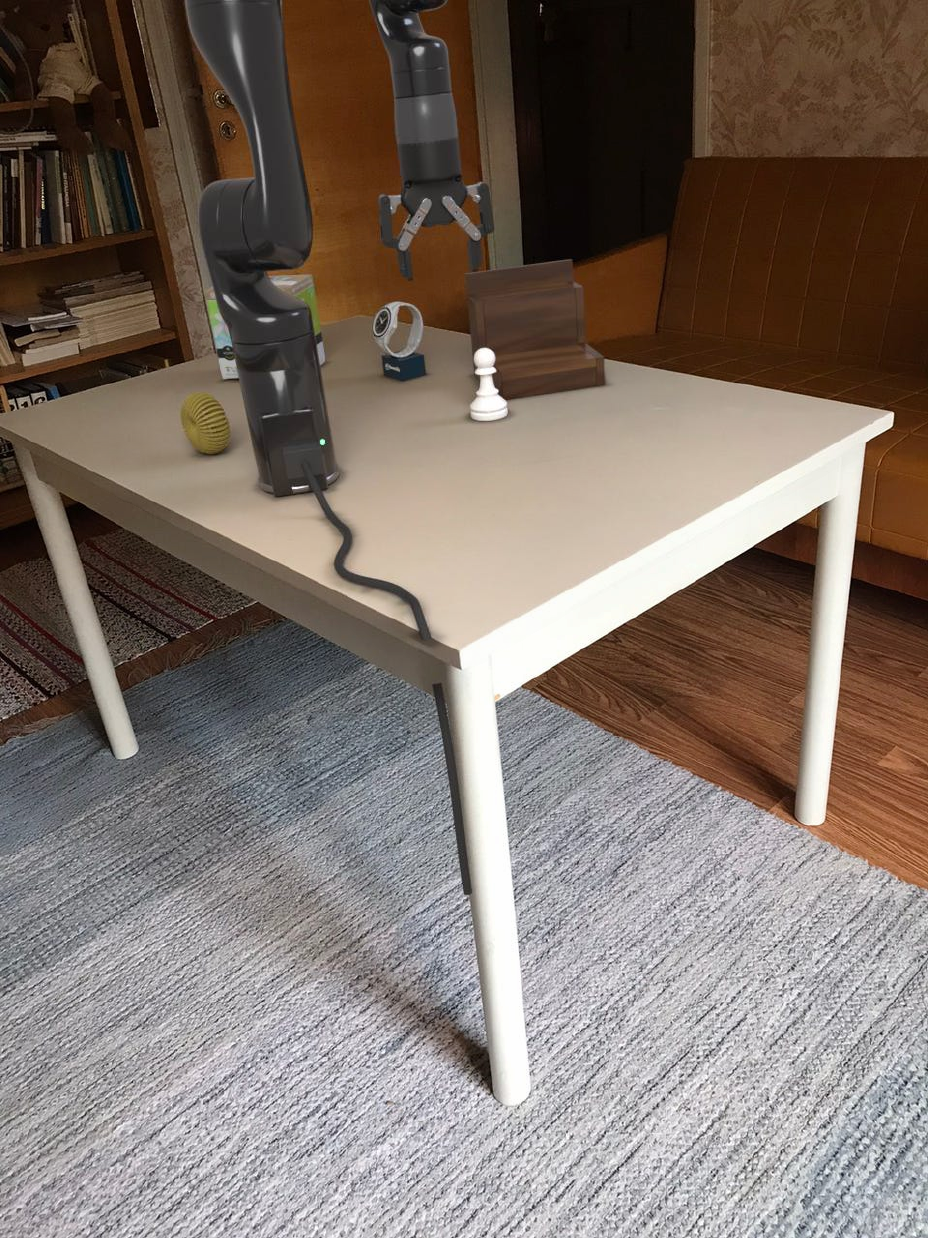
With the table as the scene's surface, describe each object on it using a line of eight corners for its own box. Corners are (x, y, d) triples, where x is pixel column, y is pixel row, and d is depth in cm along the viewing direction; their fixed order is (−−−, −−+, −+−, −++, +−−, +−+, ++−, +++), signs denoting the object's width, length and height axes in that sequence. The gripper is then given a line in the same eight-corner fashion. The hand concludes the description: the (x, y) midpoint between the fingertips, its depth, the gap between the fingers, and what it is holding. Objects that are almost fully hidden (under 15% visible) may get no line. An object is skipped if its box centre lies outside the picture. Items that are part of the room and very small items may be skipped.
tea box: (221, 381, 165) (201, 288, 158) (246, 365, 174) (229, 276, 167) (305, 379, 161) (289, 283, 154) (328, 362, 170) (313, 271, 163)
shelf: (605, 384, 142) (601, 274, 135) (494, 401, 140) (485, 290, 133) (575, 360, 155) (571, 258, 148) (474, 375, 153) (464, 273, 146)
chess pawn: (464, 420, 134) (457, 353, 130) (480, 409, 138) (474, 343, 134) (499, 422, 132) (493, 353, 128) (513, 410, 136) (508, 343, 131)
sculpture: (241, 453, 131) (228, 393, 127) (214, 463, 129) (200, 402, 125) (209, 443, 136) (196, 385, 132) (183, 452, 134) (168, 393, 130)
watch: (373, 378, 158) (363, 306, 152) (415, 366, 162) (407, 296, 156) (392, 384, 154) (382, 310, 148) (435, 371, 157) (427, 299, 152)
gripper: (373, 145, 118) (391, 288, 126) (491, 130, 120) (502, 272, 128) (365, 142, 124) (383, 278, 132) (477, 128, 126) (489, 263, 134)
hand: (442, 275), depth 130 cm, fingers open, 8 cm apart
